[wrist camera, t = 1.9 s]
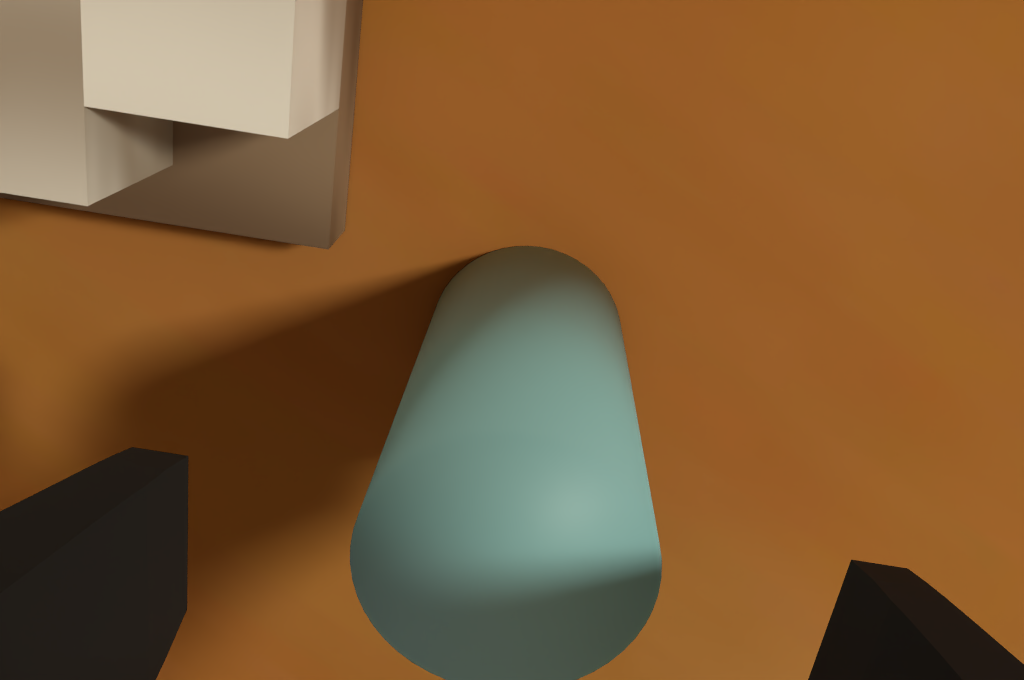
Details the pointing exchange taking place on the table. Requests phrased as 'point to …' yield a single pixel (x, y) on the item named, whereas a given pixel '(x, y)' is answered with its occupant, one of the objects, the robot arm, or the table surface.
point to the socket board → (254, 176)
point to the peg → (512, 483)
